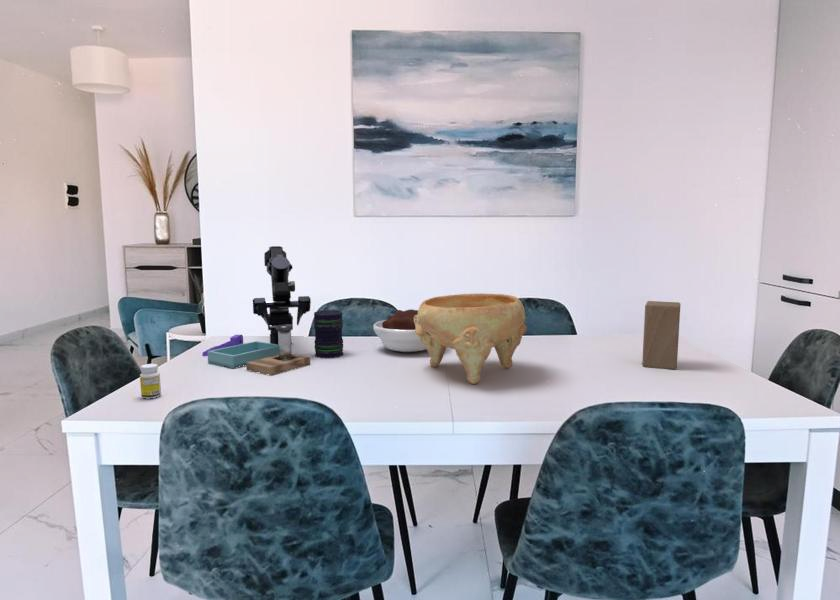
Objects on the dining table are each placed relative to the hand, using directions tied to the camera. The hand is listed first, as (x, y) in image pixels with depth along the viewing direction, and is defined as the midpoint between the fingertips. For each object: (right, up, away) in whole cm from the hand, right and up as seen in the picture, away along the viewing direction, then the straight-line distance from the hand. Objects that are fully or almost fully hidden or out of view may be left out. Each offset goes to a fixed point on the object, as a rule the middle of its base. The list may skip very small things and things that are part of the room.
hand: (283, 325), depth 187 cm
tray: (-14, -12, +4) cm, 18 cm away
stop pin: (+2, -13, -4) cm, 13 cm away
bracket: (-24, -11, +14) cm, 30 cm away
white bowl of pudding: (+40, -10, +19) cm, 46 cm away
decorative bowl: (+60, -14, -11) cm, 62 cm away
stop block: (0, -13, -6) cm, 14 cm away
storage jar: (+13, -11, +11) cm, 21 cm away
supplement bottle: (-26, -17, -37) cm, 48 cm away
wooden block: (+122, -13, -4) cm, 122 cm away
